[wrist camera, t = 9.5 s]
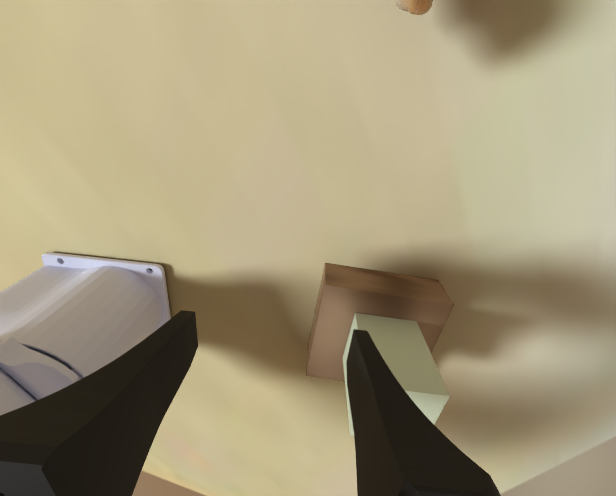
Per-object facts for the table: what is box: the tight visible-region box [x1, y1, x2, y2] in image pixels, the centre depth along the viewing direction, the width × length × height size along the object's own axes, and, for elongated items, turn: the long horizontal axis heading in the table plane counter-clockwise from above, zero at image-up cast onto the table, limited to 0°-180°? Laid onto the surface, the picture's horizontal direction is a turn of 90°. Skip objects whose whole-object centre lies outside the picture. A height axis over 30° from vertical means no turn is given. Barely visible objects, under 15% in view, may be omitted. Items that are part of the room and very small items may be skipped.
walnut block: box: [306, 263, 454, 381], centre depth 24 cm, size 9×9×4 cm
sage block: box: [343, 313, 450, 436], centre depth 20 cm, size 4×4×6 cm
